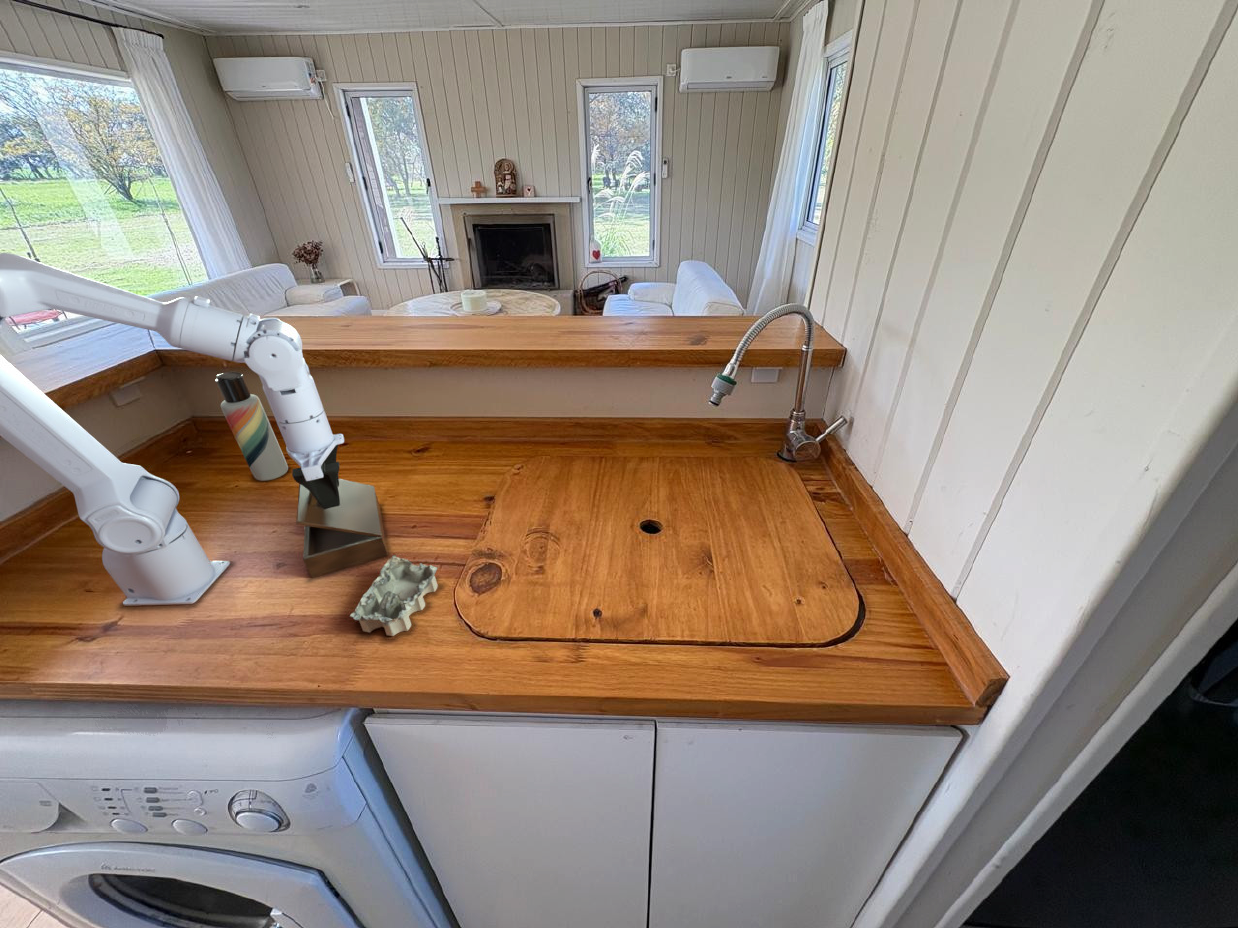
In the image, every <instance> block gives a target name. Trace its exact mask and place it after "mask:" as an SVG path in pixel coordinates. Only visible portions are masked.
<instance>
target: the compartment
mask: <svg viewBox="0 0 1238 928" xmlns="http://www.w3.org/2000/svg"><path fill="white" fill-rule="evenodd" d="M375 495H376V501H377V508H378V514H379V521H380V527H381V534H382V535H381V537H375V536H369V535H362V534H356V533H349V532H343V531H336V530H330V529H324V528H317V527H311V526H304V537H303V557H302V558H303V559H302V560H303V562H304V565H305V567H306V569H307V571H308V573H309V576H310V578H311V579H314V578H319V577H321V576H324V575H328V574H331V573H334V572H338V571H341V570H346V569H349V568H352V567H356V566H359V565H362V564H365V563H369V562H372V561H376V560H379V559H382V558H386V557H388V556H389V553H388V548H387V541H386V536H385V530H384V529H385V528H384V523H383V518H382V517H383V515H382V510H381V505H380V501H379V498H378V495H377V492H375Z"/></svg>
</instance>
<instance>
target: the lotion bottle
mask: <svg viewBox="0 0 1238 928" xmlns="http://www.w3.org/2000/svg"><path fill="white" fill-rule="evenodd" d="M215 382H216V385H217V387H218V389H219V391H220V393H221V395H222V397H223V399H224V400H223V401H222V402H221V403H220V408H221V411H222V413H223V415H224V417H225V420H226V422H227V424H228V426H229V428H230V430H231V432H232V434H233V436H234V439H235V440H236V442H237V444H238V447H239V449H240V451H241V453H242V455H243V458H244V459H245V462H246V464H247V466H248V468H249V470H250V472H251V474H252V476H253V478H254V479H255V480H257V481H265V482H266V481H271V480H275V479H277V478H281V477H282V476H284V475H285V474H287V472H288V470H289V466H288V463H287V460H286V458H285V455H284V454H283V451H282V449H281V447H280V444H279V442H278V439H277V437H276V434H275V432H274V430H273V428H272V425H271V422H270V420H269V417H268V416H267V414H266V411H265V408H264V406H263V404H262V402H261V399H260V397H259V396H258V395H256V394H251V392H250V390H249V387H248V385H247V383H246V381H245V378H244V375H243V374H242V373H241V372H237V371H229V372H223V373H219V374H217V375H216V379H215Z"/></svg>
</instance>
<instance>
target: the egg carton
mask: <svg viewBox="0 0 1238 928" xmlns="http://www.w3.org/2000/svg"><path fill="white" fill-rule="evenodd" d="M438 569H439V567H437V566H434V565H431V564H430V565H426V564H423V563H422V562H421V563H419V565H415V564H413V563H412V562H411V561H410V560H409V559H407V558H401V557H398V556H397V555H396V554H393V555H392V556H391V558H388V559H387V561H386V563H385V564H383V566H382V568H381V569H380V571H379V575H378V576H377V578H376V579H374V580H373V581H372V584H371V586H370V587H369V589H367V591H366V592H365V593H364V594H363V595H362V596H361V598H360V600H359V602H358V604H357V606H356V607H355V610H354V611H353V612H352V613H351V614H350V615H349V618H350V617H351V618H353V619H354V620H355V621H358V622H359V624H360V627H361V629H362V632H365V633H371V632H372V631H375V630H376V629H380V628H384V631H385V634H386V636H390V637H394V636H396V635H397V634H399V633H402V632H408V631H409V630H410V629H411V627H412V622H411V619H410V616H411V615H412V614H413V613H415V612H420V611H423V609H425V607H426V601H425V599H424V596H425V595H426V594H428V593H435V592H436V591H437V589H438V586H439V585H438V582H437V579H436V576H435V574H436V573H437V570H438Z"/></svg>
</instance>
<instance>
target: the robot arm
mask: <svg viewBox="0 0 1238 928" xmlns="http://www.w3.org/2000/svg"><path fill="white" fill-rule="evenodd" d="M210 303H211V300H210V299H209V298H206V297H203V296H199V295H196V296H194V297H193V299H190V298H187V297H183V296H182V297H181V296H180V297H177V298H176V299H173V300H171V301H168V302H167V301H166V302H163V301H159V300H156V299H153V298H151V297H147V296H144V295H141V294H137V293H134V292H131V291H128V290H125V289H122V288H119V287H117V286H112V285H109V284H106V283H103V282H101V281H97V280H94V279H91V278H87V277H85V276H81V275H78V274H75V273H72V272H69V271H66V270H62V269H60V268H56V267H54V266H50V265H48V264H44V263H41V262H39V261H36V260H33V259H32V258H29V257H26V256H23V255H19V254H15V253H10V252H0V333H1V332H2V329H3V325H4V321H5V320H6V318H9V317H14V316H19V315H25V314H31V313H36V312H42V311H46V310H56V311H60V312H64V313H65V312H66V313H69V314H70V313H71V314H75V315H79V316H83V317H88V318H92V319H97V320H103V321H108V322H111V323H116V324H121V325H125V326H129V327H135V328H139V329H143V330H146V331H147V330H148V331H152V332H155V333H158V335H160V337H161V338H163V339H164V340H165V342H166V343H167V344H168V345H169V346H171V347H173V348H177V349H180V350H181V349H182V350H185V351H189V352H192V353H193V352H194V353H198V354H202V355H205V356H209V357H213V358H218V359H222V360H226V361H230V362H234V363H237V364H241V363H242V364H243V363H245V364H246V365H247V367H248V368H249V369H250V370H251V371H252V372H254V373H255V374H257V375H258V377H259V379H260V382H261V384H262V390H263V392H264V395H265V397H266V400H267V403H268V404H269V407H270V409H271V411H272V414H273V417H274V418H275V422H276V425H277V427H278V429H279V431H280V434H281V436H282V438H283V441H284V443H285V445H286V447H285V448H286V449H285V450H286V453H287V455H288V456H289V457H290V458H291V459H292V460H293V461H294V462H295V463H296V464H297V465H298V466H299V467H296V468H292V472H291V475H292V479H293V480H294V481H295V482H296V483H297V484H298V485H299V484H301V485H303V486H304V487H305V488H306V489H308V490H309V491H310V492H311V493H312V495H313V496H314V497H315V499H316V500H317V501H318V502H319V504H320V505H321V506H322V507H323V508H324V509H328V508H332V507H336V506H339V505H340V496H339V490H338V486H339V479H340V477H339V474H340V473H339V472H340V461H337V454H338V449H339V445H342V444H344V443H345V437H344V434H343V433H336V434H333V431H332V429H331V425H330V423H329V419H328V418H327V414H326V411H325V409H324V405H323V403H322V399H321V397H320V394H319V392H318V389H317V386H316V382H315V380H314V377H313V376H312V375H311V373H310V368H309V365H308V364H307V363H306V360H305V358H304V355H303V341H302V337H301V335H300V333H299V332H298V331H297V329H295V328H294V327H293V325H291V324H289V323H287V322H285V321H282V320H280V319H279V318H278V317H265V318H261V316H259V315H258V314H254V313H249V315H244V314H242V313H238V312H235V311H232V310H227V309H225V308H221V307H217V306H214V305H212V304H210ZM0 437H1V438H3V439H4V440H5V441H7V443H9V444H10V445H11V446H12V447H14V448H15V449H17V450H18V451H19V452H20V453H21V454H23V455H24V456H26V458H28V459H29V460H31V461H32V463H34V464H35V465H37V466H38V467H39V468H41V469H42V470H43V471H44V472H46V473H47V474H48V475H50V476H51V478H53V479H54V480H56V481H57V482H58V483H60V484H61V485H62V486H64V487H65V488H66V489H67V490H68V491H70V492H71V493H72V494H73V497H74V500H75V505H76V509H77V514H78V517H79V519H80V520H81V521H82V522H83V523H85V524H86V525H87V526H89V528H90V529H91V531H92V533H93V536H94V539H95V540H96V542H97V543H98V544H99V545H100V546H101V547H102V548H103V550H102V554H101V560H102V565H103V567H104V569H105V570H106V572H107V573H108V575H109V576H110V577H111V578H112V579H113V581H114V582H115V584H116V585H117V586H118V588H119V589H120V591H121V592H122V593H123V594H124V596H125V597H126V599H124V600H123V602H122V605H123V606H124V607H129V606H131V607H133V606H135V607H136V606H161V605H162V606H164V605H165V606H166V605H167V606H168V605H170V606H171V605H191V604H194V603H196V602H197V601H199V599H200V598H201V597H202V596H203V595H204V593H205V592H207V590H209V588H210V587H211V586H212V584H214V583H215V581H216V580H217V579H219V577H220V576H221V575H222V573H224V571H225V570H226V569H227V568H228V567H229V566H230V565H231V562H230V561H229V560H212V561H211V560H210V559H209V557H208V556H207V553H206V552H205V550H204V548H203V547H202V545H201V544H200V542H199V540H198V539H197V537H196V534H194V532H193V530H192V528H191V527H190V525H189V523H188V522H187V519H185V517H184V516H182V515H181V514H180V513H179V511H178V509H177V507H178V504H179V502H180V493H179V490H178V489H177V488H176V486H175V485H174V484H173V483H171V482H170V481H168V480H166V479H165V478H161V477H158V476H156V475H154V474H152V473H150V472H148V471H147V470H146V469H145V468H144V467H143V466H141V465H138V464H134V463H133V464H131V463H126V462H122V461H120V459H119V458H118V457H117V456H115V455H114V454H113V453H112V452H111V451H109V450H108V449H107V448H106V447H105V446H104V445H103V444H102V443H101V442H99V441H98V440H97V439H96V438H95V437H94V436H93V435H91V434H90V433H89V432H88V431H87V430H86V429H85V428H83V426H81V425H80V424H79V423H78V422H77V421H76V420H74V419H73V418H72V417H71V416H70V415H69V414H68V413H67V412H65V411H64V410H63V409H62V408H61V407H60V406H59V405H57V403H55V401H53V400H52V399H51V398H50V397H48V395H46V394H45V393H44V392H42V390H41V389H39V387H37V386H36V385H35V384H34V383H33V382H32V381H30V379H28V378H27V377H26V376H25V375H24V374H23V373H21V372H20V371H19V370H18V369H17V368H16V367H15V366H13V364H11V363H10V362H9V361H8V360H7V359H5V358H4V357H3V355H1V354H0Z"/></svg>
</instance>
